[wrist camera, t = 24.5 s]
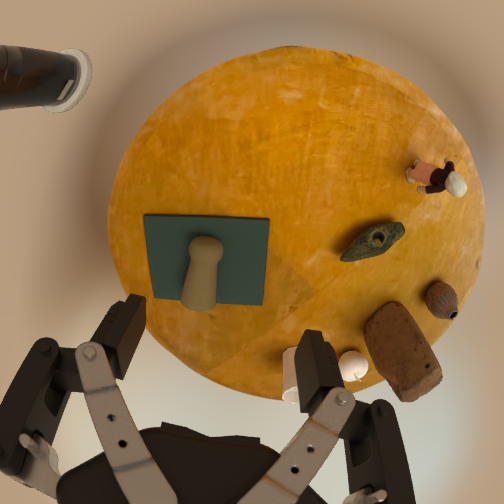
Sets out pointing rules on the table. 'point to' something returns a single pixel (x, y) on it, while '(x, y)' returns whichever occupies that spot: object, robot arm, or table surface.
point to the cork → (202, 274)
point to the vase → (442, 301)
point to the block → (401, 352)
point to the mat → (229, 267)
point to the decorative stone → (366, 244)
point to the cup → (289, 377)
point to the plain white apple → (352, 366)
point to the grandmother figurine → (437, 178)
